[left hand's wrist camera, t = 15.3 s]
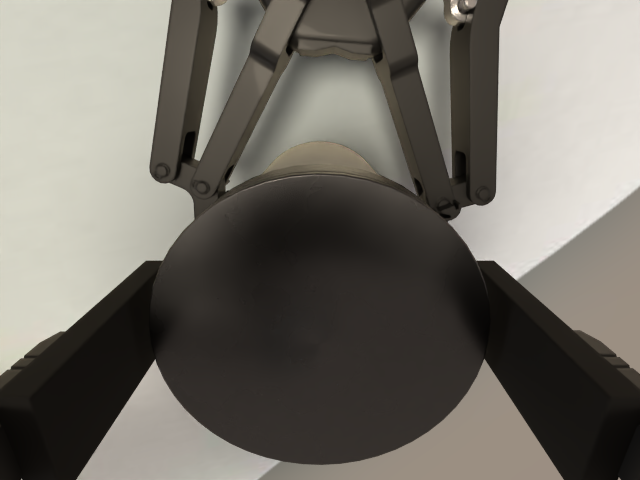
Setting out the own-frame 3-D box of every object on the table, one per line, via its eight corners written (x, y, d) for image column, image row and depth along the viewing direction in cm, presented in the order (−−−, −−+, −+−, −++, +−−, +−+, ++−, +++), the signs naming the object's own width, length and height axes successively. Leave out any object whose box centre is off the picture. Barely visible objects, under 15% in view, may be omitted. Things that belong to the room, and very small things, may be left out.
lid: (315, 86, 10) (314, 82, 8) (528, 309, 12) (559, 340, 10) (111, 315, 12) (81, 346, 11) (322, 463, 14) (322, 506, 13)
